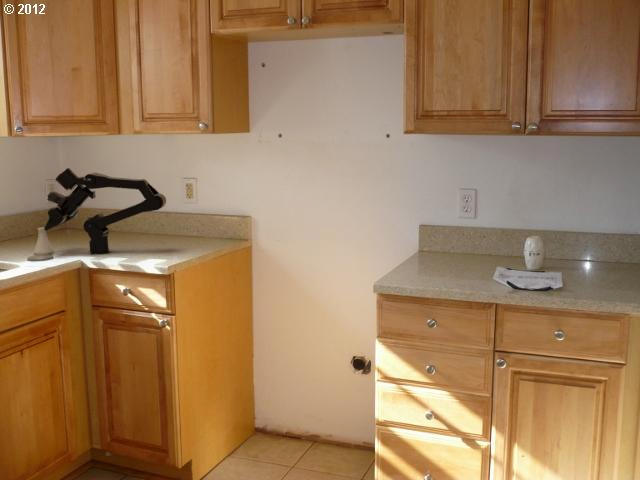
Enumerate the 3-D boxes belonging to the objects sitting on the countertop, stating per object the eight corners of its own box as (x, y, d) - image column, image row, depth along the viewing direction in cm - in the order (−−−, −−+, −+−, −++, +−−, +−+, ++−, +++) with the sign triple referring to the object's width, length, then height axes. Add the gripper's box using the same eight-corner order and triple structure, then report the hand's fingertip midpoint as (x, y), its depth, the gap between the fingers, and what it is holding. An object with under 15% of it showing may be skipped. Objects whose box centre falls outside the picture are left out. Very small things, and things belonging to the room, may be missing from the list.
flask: (29, 254, 272) (27, 228, 270) (45, 251, 278) (43, 226, 276) (43, 256, 268) (41, 229, 267) (58, 252, 275) (56, 227, 273)
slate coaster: (54, 255, 268) (54, 253, 268) (51, 260, 260) (51, 258, 259) (29, 257, 266) (29, 255, 266) (25, 261, 257) (25, 259, 257)
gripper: (68, 182, 278) (42, 210, 280) (51, 186, 260) (23, 216, 261) (89, 201, 279) (63, 229, 281) (74, 207, 261) (46, 237, 263)
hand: (49, 228), depth 272 cm, fingers open, 9 cm apart
